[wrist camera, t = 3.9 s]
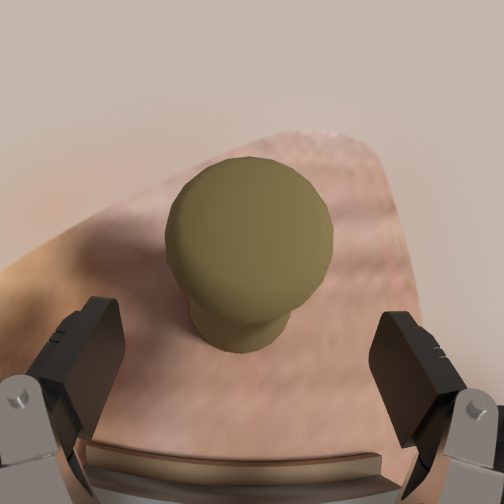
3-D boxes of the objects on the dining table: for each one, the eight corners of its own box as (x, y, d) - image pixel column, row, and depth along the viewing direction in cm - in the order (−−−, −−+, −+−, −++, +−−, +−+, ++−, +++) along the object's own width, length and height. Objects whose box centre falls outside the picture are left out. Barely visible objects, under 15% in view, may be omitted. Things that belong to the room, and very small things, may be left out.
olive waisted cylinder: (175, 270, 19) (124, 157, 9) (270, 241, 20) (307, 112, 10) (207, 367, 17) (173, 362, 7) (306, 332, 18) (397, 279, 8)
